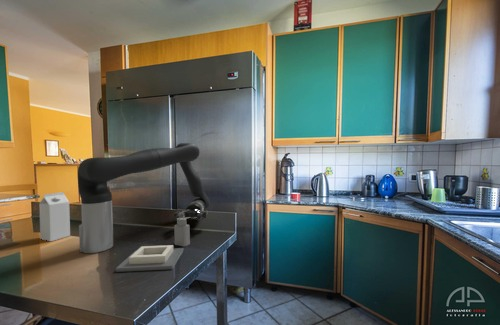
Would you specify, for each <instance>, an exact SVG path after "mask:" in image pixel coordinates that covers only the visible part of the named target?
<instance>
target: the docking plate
mask: <svg viewBox="0 0 500 325" xmlns="http://www.w3.org/2000/svg"><path fill="white" fill-rule="evenodd" d="M183 252H184V247H178V248H177V247H176V248H175V247H174V245H173V244H172V245H171V244H170V245H169V244H168V245H144V246H143V245H142V246H140V247H139V248H138V249H136V250H134V252H132V253H131V254H129V256H128V257H127V258H126V259H124V260H123V261H122V262H121V263H120V264H119V265H118V266H116V268H115V272H116V273H119V272H122V273H123V272H139V271H141V272H142V271H144V272H145V271H158V270H159V271H161V270H163V271H165V270H173V269H174V267H175V266H176V264H177V263H178V261H179V259H180V258H181V256H182V254H183Z"/></svg>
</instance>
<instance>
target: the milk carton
mask: <svg viewBox="0 0 500 325" xmlns="http://www.w3.org/2000/svg"><path fill="white" fill-rule="evenodd" d="M38 205H39V230H40V231H39V234H40V235H39V236H40V240H41V239H42V240H43V241H46V240H47V241H48V242H54V241H57V240H60V239H64V238H67V237H71V222H70V221H71V219H70V216H71V215H70V201H69V199H68V197H67V196H66V195H65V192H64V191H62V192H54V193H53V192H52V193H44V194H43V198H42V199H41V201H40V202H39V203H38ZM47 241H46V242H47Z"/></svg>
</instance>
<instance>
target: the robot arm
mask: <svg viewBox="0 0 500 325" xmlns="http://www.w3.org/2000/svg"><path fill="white" fill-rule="evenodd" d="M200 153H201V151H200V148H199V147H198V145H196V144H194V143H191V142H190V143H189V142H186V143H185V142H181V143H178V144H177V145H176V146H175V147H157V148H156V147H155V148H148V149H144V150H143V149H142V150H139V151H135V152H133V153H131V154H127V155H122V156H110V157H89V158H86V159H84V160H82V161H81V162H80V163H79V165H78V168H77V187H78V194H79V198H80V201H81V202H80V203H81V207H80V208H81V224H79V225H78V232H79V233H78V235H79V237H78V238H79V241H78V242H79V253H84V254H96V253H101V252H104V251H108V250H110V249H111V248H112V247H113V246H114V225H113V223H114V222H113V221H114V220H113V194H112V192H111V190H109V187H108V182H110V181H112V180H115V179H118V178H121V177H124V176H128V175H132V174H139V173H144V172H148V171H149V172H150V171H154V170H158V169H162V168H165V167H169V166H171V165H175V164H179V165H180V168H181V170H182V172H183V174H184V176H185V178H186V179H185V180H186V182H187V184H188V188H189V191H190V194H191V196H192V197H195V198H192V199H191V201H190V204H189V205H188V206H187V207H186V208H185V210H188V211H185V210H182V211H181V210H177V211H176V212H174V213H173V219H174V220H175V221H177V218H179V212H180V218H183V213H184V218H186V220H187V219H189V218H191V217H194V218H197V219H196V221H197V222H198V221H200V220H201V219H207V218H208V215H207V216H206V212H207V213H208V209H209V208H210V207H211V201H210V198H209V197H208V195H207V194H206V192H205V190H204V186H203V182H202V180H201V177H200V176H199V174H198V173H197V172H196V170H195V169H194V167H193V165H192V163H191V162H194V161H195V160H197V159H198V158H199V156H200ZM199 211H206V212H204V213H203V214H202V213H201V212H199Z"/></svg>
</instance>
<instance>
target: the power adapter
mask: <svg viewBox="0 0 500 325" xmlns="http://www.w3.org/2000/svg"><path fill="white" fill-rule="evenodd" d="M180 212H181V211H180ZM180 212H179V218H177V220H176V224H175V225H174V226H173V227H174V228H173V229H174V245H175V246H180V247H187V246H189V245H190V244H191V240H190V239H191V237H190V236H191V235H190V224H187V219H186V218H184V213H183V218H180Z"/></svg>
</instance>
